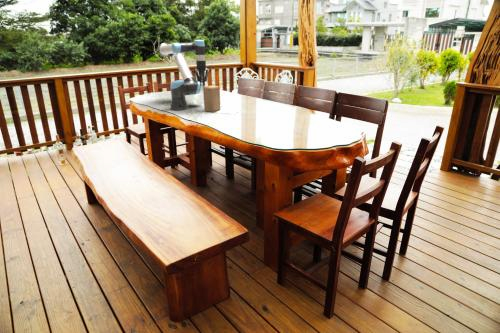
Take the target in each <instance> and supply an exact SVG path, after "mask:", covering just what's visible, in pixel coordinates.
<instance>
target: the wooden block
mask: <svg viewBox="0 0 500 333" xmlns="http://www.w3.org/2000/svg"><path fill="white" fill-rule="evenodd" d="M202 92H203V107H204V108H203V109H204V110H203V111H205V112H210V113H216V112H218V111H220V110H221V93H220V92H221V91H220V86H218V85H205V86H204V87H203V91H202Z"/></svg>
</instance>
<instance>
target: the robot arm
mask: <svg viewBox="0 0 500 333" xmlns="http://www.w3.org/2000/svg"><path fill="white" fill-rule="evenodd" d="M205 45H206V44H205V40H204V39H195V40H194V42H163V43H160V44H159V45H158V47H157V52H158V54H159V55H160V56H162V57H166V58H168V57H170V58H171V59H172V60H173V61H174V62H175V65H176V66H177V68H178V70H179V74H180V75H181V77H182V79H179V80H173V81H171V82H170V87H169V89H170V95H171V102H170V105H169V106H170V110H173V111H181V110H182V111H183V110H187V109H189V104H188V101H187V100H186V96H191V95H199V94H200V93H201V91H202V92H203V87H205V86H206V82H207V81H208V78H209V77H208V76H209V71H210V69H208V68H207V64H206V59H207V58H206V46H205ZM187 53H188V54H190V53H191V54H192V53H195V60H196V61H195V63H196V65H195V66H196V68H194V69H193V71H194V73H195V76H193V73H192V71H191V69H190V67H189V65H188V63H187V61H186V59H185V55H186V54H187Z"/></svg>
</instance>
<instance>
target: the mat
mask: <svg viewBox="0 0 500 333" xmlns="http://www.w3.org/2000/svg"><path fill="white" fill-rule="evenodd" d="M240 111H241V109H229V108H220V110H219V111H215V113H216V114H226V115H227V114H230V115H235V114H237V113H239V112H240Z"/></svg>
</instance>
